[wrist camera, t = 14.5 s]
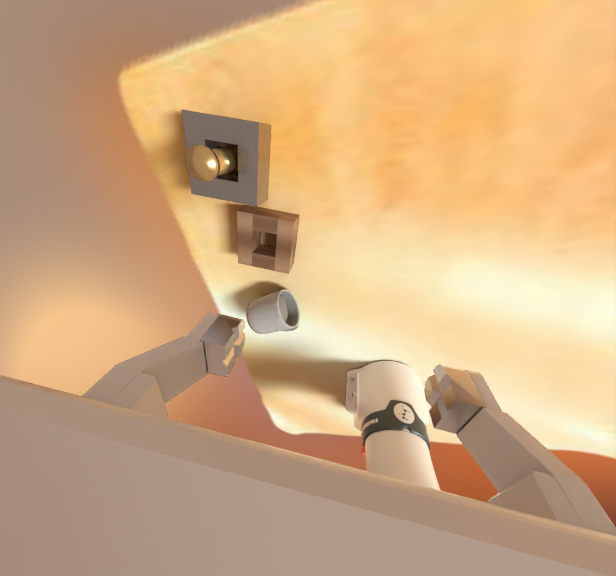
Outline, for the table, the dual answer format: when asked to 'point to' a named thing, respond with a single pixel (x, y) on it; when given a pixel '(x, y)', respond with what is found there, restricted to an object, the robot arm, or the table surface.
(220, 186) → the socket
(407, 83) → the table surface
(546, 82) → the table surface
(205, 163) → the pin
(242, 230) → the mount
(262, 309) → the ceramic mug
